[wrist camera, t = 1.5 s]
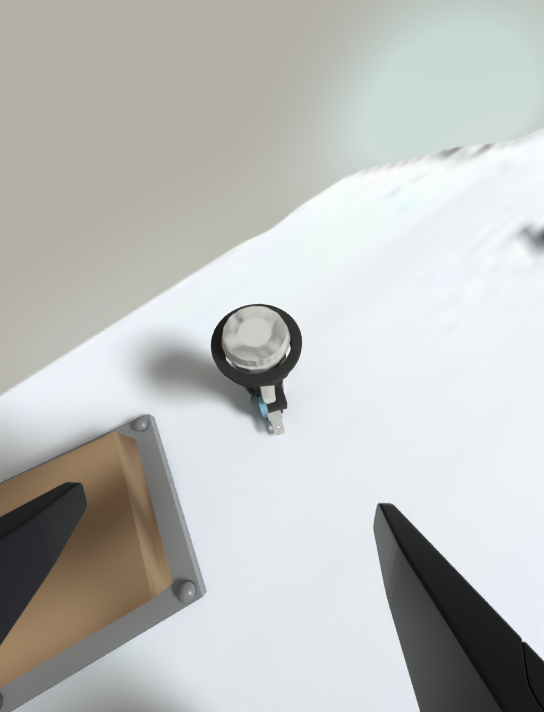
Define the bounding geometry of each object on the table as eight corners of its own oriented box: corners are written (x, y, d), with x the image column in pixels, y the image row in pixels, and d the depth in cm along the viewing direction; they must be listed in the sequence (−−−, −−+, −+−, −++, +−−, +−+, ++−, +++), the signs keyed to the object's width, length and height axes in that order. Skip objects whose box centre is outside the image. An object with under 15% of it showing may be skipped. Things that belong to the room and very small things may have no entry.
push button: (310, 426, 23) (327, 383, 14) (247, 446, 22) (222, 414, 13) (285, 357, 25) (285, 284, 17) (229, 373, 25) (199, 306, 16)
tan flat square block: (172, 582, 18) (152, 599, 15) (7, 678, 16) (-49, 715, 13) (135, 439, 22) (114, 431, 19) (1, 502, 20) (-43, 504, 17)
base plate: (206, 591, 18) (199, 600, 17) (-3, 716, 16) (-31, 738, 14) (154, 416, 23) (145, 412, 22) (-8, 492, 21) (-29, 492, 20)
